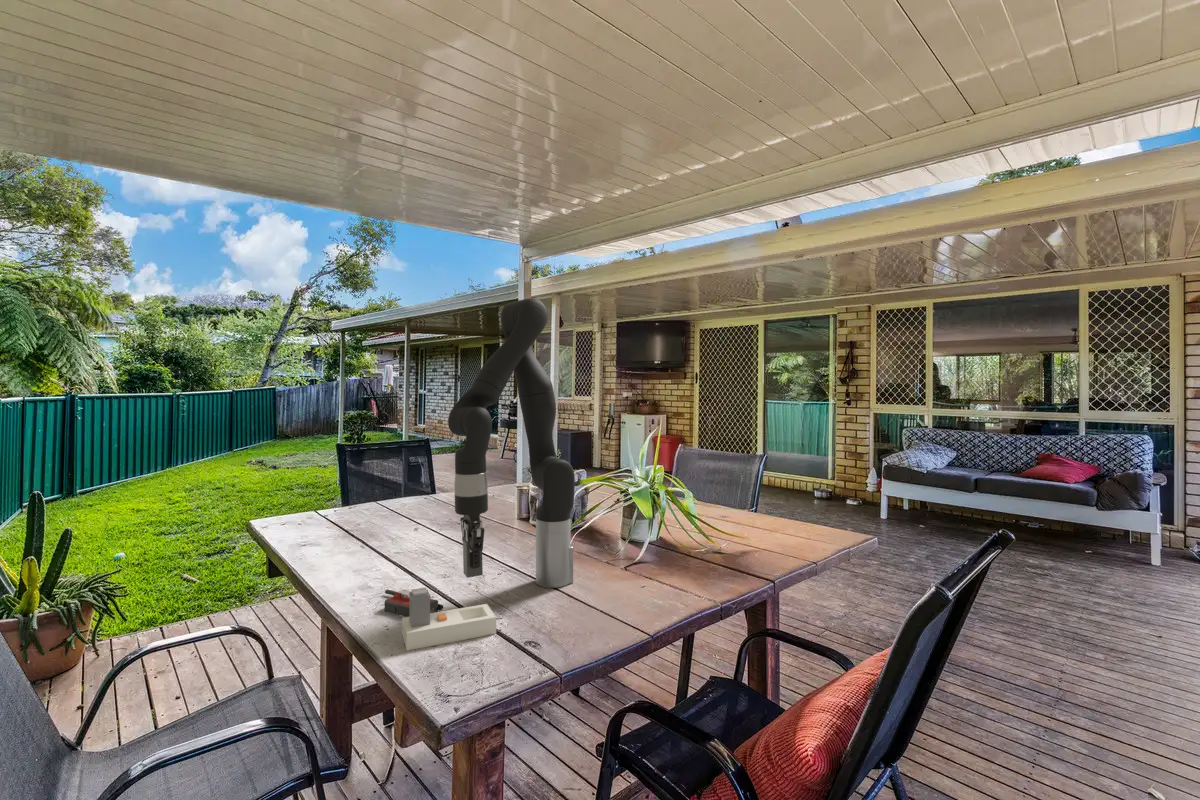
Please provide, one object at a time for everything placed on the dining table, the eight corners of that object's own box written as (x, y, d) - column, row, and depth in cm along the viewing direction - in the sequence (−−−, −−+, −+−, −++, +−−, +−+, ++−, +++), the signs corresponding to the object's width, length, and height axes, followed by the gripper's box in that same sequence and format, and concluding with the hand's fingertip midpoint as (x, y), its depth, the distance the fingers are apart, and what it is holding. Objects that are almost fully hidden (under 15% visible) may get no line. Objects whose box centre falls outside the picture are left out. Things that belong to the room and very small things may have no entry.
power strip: (486, 619, 125) (486, 574, 124) (496, 633, 117) (496, 586, 117) (402, 634, 117) (402, 586, 117) (406, 650, 110) (406, 599, 109)
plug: (478, 570, 132) (478, 534, 132) (482, 575, 129) (481, 538, 129) (463, 573, 131) (462, 536, 130) (467, 577, 127) (466, 540, 127)
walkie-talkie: (450, 609, 131) (389, 595, 140) (450, 591, 131) (389, 577, 140) (422, 623, 123) (360, 607, 132) (422, 604, 123) (359, 588, 132)
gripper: (495, 495, 125) (496, 571, 125) (479, 485, 137) (481, 554, 138) (461, 499, 121) (463, 577, 122) (448, 488, 134) (450, 559, 134)
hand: (472, 564), depth 130 cm, fingers closed on plug, 3 cm apart
